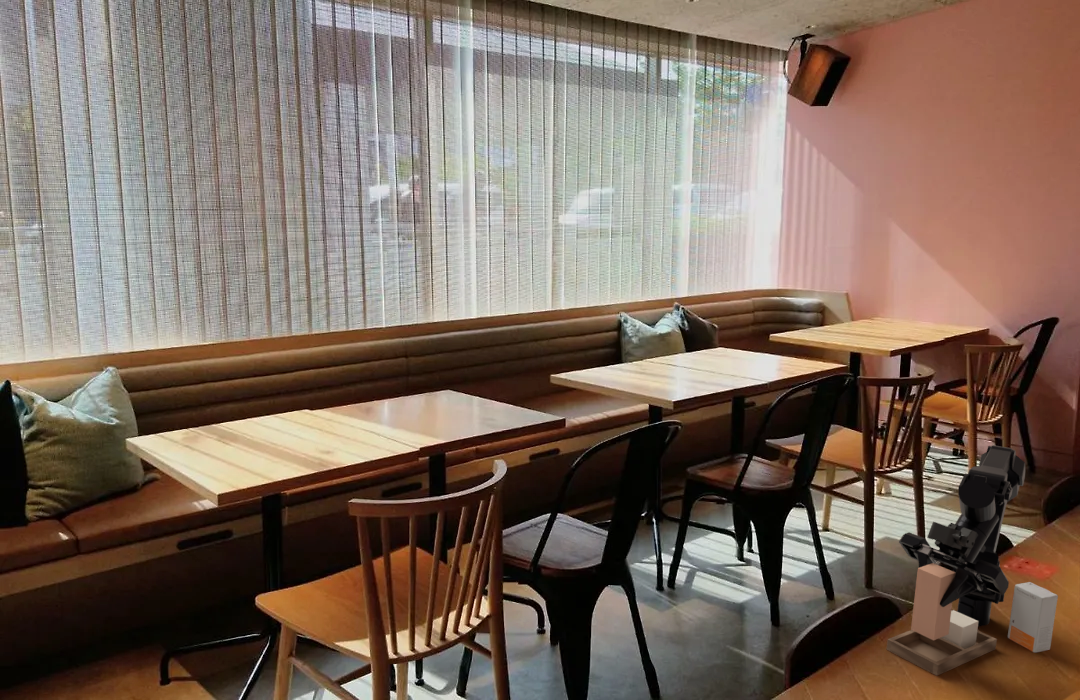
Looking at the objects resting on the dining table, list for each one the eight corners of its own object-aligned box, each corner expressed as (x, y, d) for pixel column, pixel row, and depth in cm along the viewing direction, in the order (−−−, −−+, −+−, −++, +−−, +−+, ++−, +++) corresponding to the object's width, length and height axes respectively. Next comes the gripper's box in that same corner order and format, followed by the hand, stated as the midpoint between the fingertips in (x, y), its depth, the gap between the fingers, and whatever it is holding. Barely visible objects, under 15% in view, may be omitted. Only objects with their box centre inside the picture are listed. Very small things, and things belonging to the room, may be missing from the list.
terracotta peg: (925, 623, 155) (932, 563, 153) (948, 634, 151) (955, 572, 149) (911, 629, 153) (917, 568, 151) (933, 640, 149) (940, 577, 147)
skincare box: (1005, 642, 160) (1013, 583, 158) (1022, 638, 162) (1029, 581, 160) (1034, 658, 155) (1042, 598, 153) (1050, 654, 156) (1059, 594, 154)
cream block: (950, 634, 161) (953, 609, 160) (975, 645, 157) (978, 621, 156) (934, 640, 158) (937, 616, 157) (959, 652, 154) (962, 627, 153)
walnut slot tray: (944, 630, 164) (946, 616, 164) (994, 653, 156) (996, 639, 155) (885, 654, 155) (887, 639, 154) (936, 680, 146) (937, 665, 146)
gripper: (910, 491, 158) (867, 557, 154) (1007, 524, 142) (963, 599, 139) (930, 523, 163) (889, 588, 160) (1027, 558, 148) (984, 631, 144)
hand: (928, 600), depth 150 cm, fingers closed on terracotta peg, 4 cm apart
